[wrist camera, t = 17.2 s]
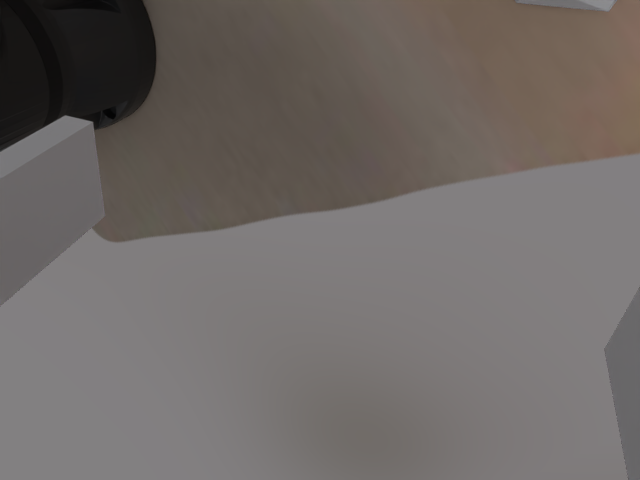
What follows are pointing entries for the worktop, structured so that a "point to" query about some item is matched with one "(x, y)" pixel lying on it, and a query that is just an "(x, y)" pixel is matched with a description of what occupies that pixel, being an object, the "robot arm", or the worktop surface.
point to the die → (574, 4)
